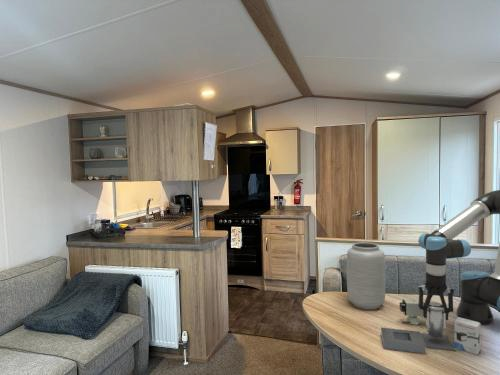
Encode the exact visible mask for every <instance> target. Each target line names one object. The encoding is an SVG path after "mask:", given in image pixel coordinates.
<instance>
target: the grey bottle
mask: <svg viewBox="0 0 500 375" xmlns="http://www.w3.org/2000/svg"><path fill="white" fill-rule="evenodd" d="M444 310H445V307H444V306H443V305H442V303H440V302H437V301H430V304H429V306H428V311H429V327H428V326H427V334H429V335H430V336H432V337H436V338H441V337H443V335H444V328H443V311H444Z"/></svg>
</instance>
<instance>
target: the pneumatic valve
mask: <svg viewBox="0 0 500 375" xmlns="http://www.w3.org/2000/svg"><path fill="white" fill-rule="evenodd" d="M424 303H425V301H423V306H424ZM418 305H419V299H414V298H411V299H405V298H403V299H402V301H401V302H399V311H400V312H402V313H403V315H404V316H406V320H407V323H409V325H415V326H416V325H417V326H419V324H420V322H421V319H420V317H424V316H423V310H422V309H420V308H419V306H418Z"/></svg>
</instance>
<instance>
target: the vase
mask: <svg viewBox="0 0 500 375" xmlns="http://www.w3.org/2000/svg"><path fill="white" fill-rule="evenodd" d="M346 287H347V288H346V289H347V290H346V291H347V292H346V293H347V298H348V300H349V301H350V302H351V303H352V304H353V306H354V307H357V308H358V309H363V310H377V309H378V308H380V307H381V306H382V305H383V304H384V303H385V299H386V256H385V252H384V250H382V249H380V246H379V244H377V243H374V242H373V243H372V242H362V241H361V242H355V243H352V247H350V248H349V249H348V250H347V252H346Z"/></svg>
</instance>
